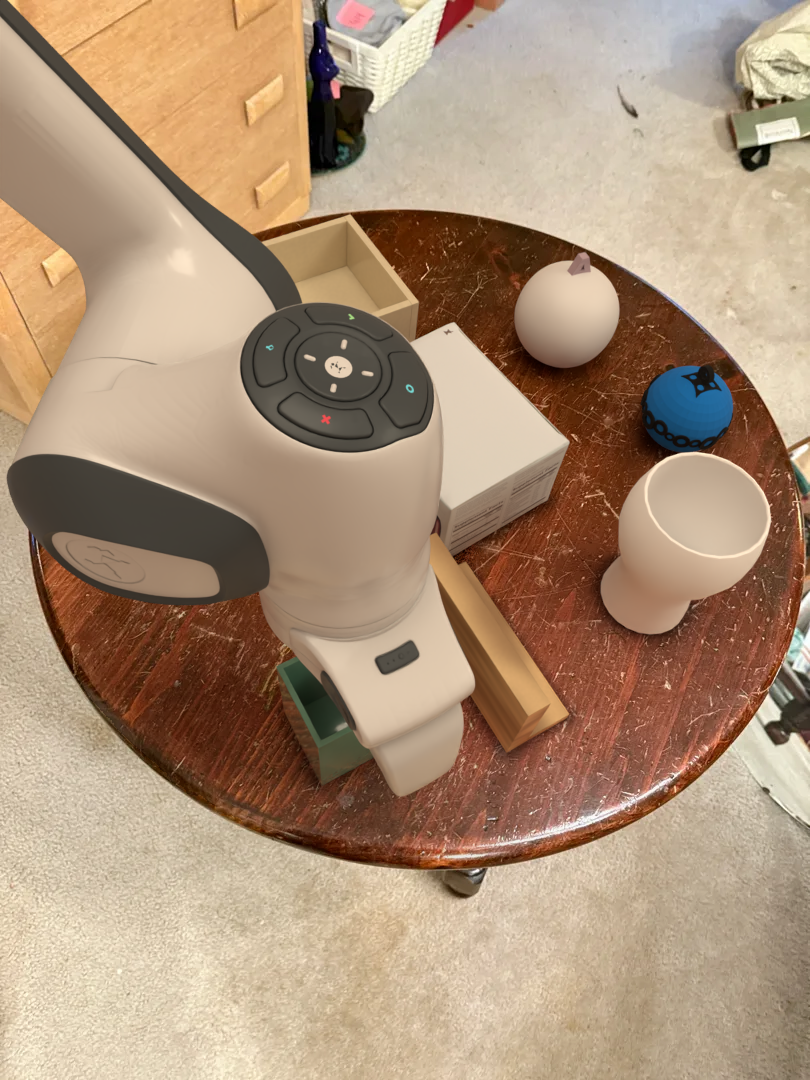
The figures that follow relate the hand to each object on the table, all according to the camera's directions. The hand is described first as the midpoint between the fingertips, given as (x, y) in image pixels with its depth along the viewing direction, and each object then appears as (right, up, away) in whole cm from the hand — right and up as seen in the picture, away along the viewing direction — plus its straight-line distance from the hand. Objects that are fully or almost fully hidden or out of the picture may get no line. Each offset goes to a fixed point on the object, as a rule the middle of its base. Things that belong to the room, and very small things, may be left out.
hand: (344, 673), depth 55 cm
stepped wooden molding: (+11, -1, +14) cm, 18 cm away
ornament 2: (+31, +19, +28) cm, 46 cm away
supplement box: (+8, +16, +24) cm, 30 cm away
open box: (-7, +31, +32) cm, 45 cm away
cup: (+25, +4, +18) cm, 32 cm away
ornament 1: (+20, +29, +33) cm, 49 cm away
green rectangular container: (+3, -4, +11) cm, 12 cm away
